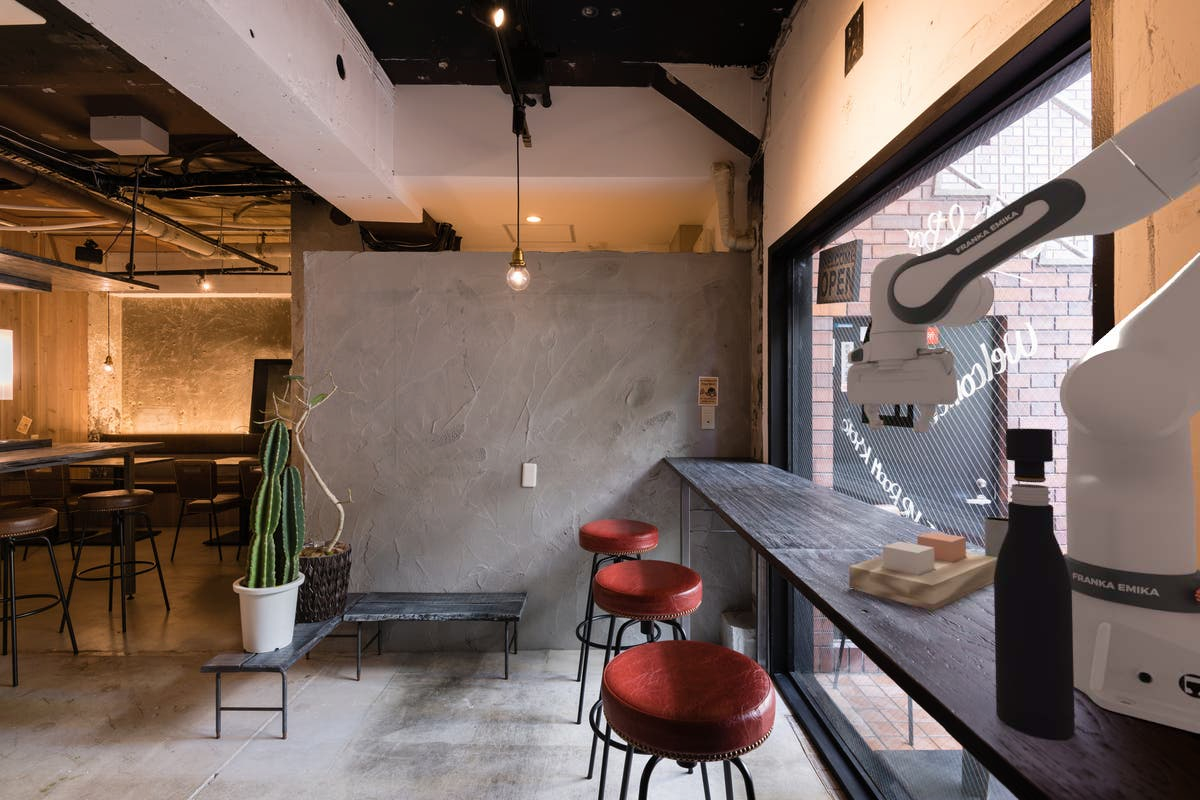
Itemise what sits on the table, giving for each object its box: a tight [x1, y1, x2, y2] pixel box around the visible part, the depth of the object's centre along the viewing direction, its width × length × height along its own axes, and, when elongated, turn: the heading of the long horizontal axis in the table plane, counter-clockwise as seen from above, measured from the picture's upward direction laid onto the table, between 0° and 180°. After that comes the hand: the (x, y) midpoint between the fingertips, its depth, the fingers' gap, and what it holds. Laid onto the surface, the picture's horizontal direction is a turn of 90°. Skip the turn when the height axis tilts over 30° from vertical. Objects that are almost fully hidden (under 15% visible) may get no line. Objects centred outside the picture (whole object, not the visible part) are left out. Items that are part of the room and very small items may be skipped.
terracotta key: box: [917, 531, 967, 563], centre depth 109 cm, size 6×6×4 cm
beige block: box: [882, 541, 935, 576], centre depth 101 cm, size 6×6×4 cm
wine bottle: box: [993, 427, 1076, 741], centre depth 59 cm, size 6×6×30 cm
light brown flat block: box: [848, 551, 997, 611], centre depth 105 cm, size 14×27×4 cm, turn 127°
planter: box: [983, 516, 1008, 558], centre depth 112 cm, size 4×4×10 cm
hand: (897, 431), depth 99 cm, fingers open, 8 cm apart
